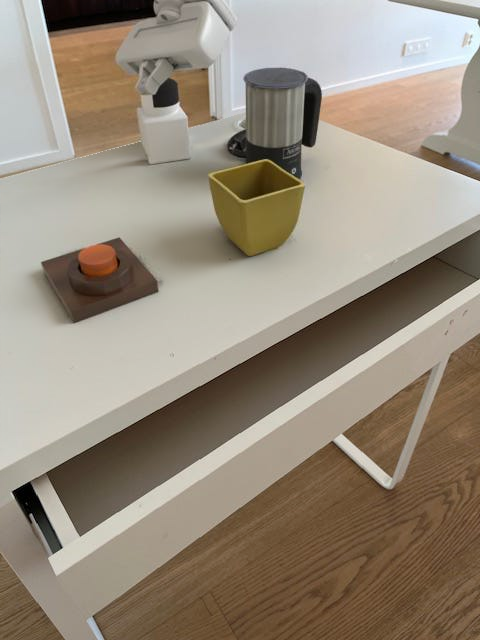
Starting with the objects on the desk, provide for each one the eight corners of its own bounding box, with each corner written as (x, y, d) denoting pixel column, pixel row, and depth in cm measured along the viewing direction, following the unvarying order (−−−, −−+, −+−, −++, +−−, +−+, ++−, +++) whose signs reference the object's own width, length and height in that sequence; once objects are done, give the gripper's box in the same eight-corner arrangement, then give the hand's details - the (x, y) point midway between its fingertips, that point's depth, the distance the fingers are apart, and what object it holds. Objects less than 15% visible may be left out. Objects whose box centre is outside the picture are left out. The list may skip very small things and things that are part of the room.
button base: (44, 273, 62) (36, 249, 60) (121, 248, 66) (117, 224, 64) (74, 323, 55) (66, 298, 52) (158, 292, 59) (155, 267, 56)
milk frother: (285, 194, 76) (291, 90, 67) (197, 172, 82) (190, 73, 73) (322, 159, 86) (332, 63, 76) (241, 141, 92) (240, 50, 82)
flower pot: (209, 236, 68) (206, 172, 62) (266, 219, 71) (267, 157, 65) (242, 270, 62) (241, 202, 56) (302, 249, 65) (307, 184, 59)
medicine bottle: (181, 143, 91) (175, 71, 84) (191, 159, 86) (185, 84, 78) (141, 149, 90) (131, 76, 82) (149, 165, 85) (139, 89, 77)
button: (76, 264, 58) (73, 251, 57) (109, 253, 59) (107, 240, 58) (88, 282, 55) (85, 268, 54) (123, 270, 57) (120, 257, 56)
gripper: (129, 5, 79) (89, 80, 78) (219, -19, 66) (173, 72, 65) (157, 36, 84) (120, 108, 83) (246, 19, 71) (204, 105, 69)
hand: (144, 92), depth 74 cm, fingers closed
